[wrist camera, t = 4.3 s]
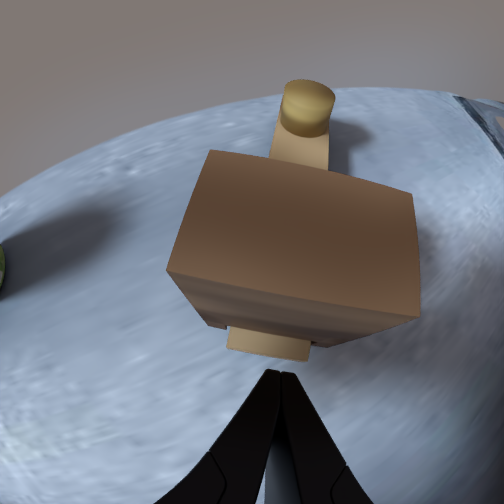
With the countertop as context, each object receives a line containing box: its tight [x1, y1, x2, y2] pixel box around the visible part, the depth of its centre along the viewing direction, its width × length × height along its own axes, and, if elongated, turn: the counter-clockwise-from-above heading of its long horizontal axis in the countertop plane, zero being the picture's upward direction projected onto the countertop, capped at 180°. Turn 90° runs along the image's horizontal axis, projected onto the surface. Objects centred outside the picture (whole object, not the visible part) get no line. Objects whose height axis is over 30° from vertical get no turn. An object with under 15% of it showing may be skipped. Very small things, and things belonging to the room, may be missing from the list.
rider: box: [166, 150, 420, 348], centre depth 11 cm, size 4×7×9 cm, turn 79°
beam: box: [226, 80, 335, 362], centre depth 17 cm, size 20×4×6 cm, turn 169°
